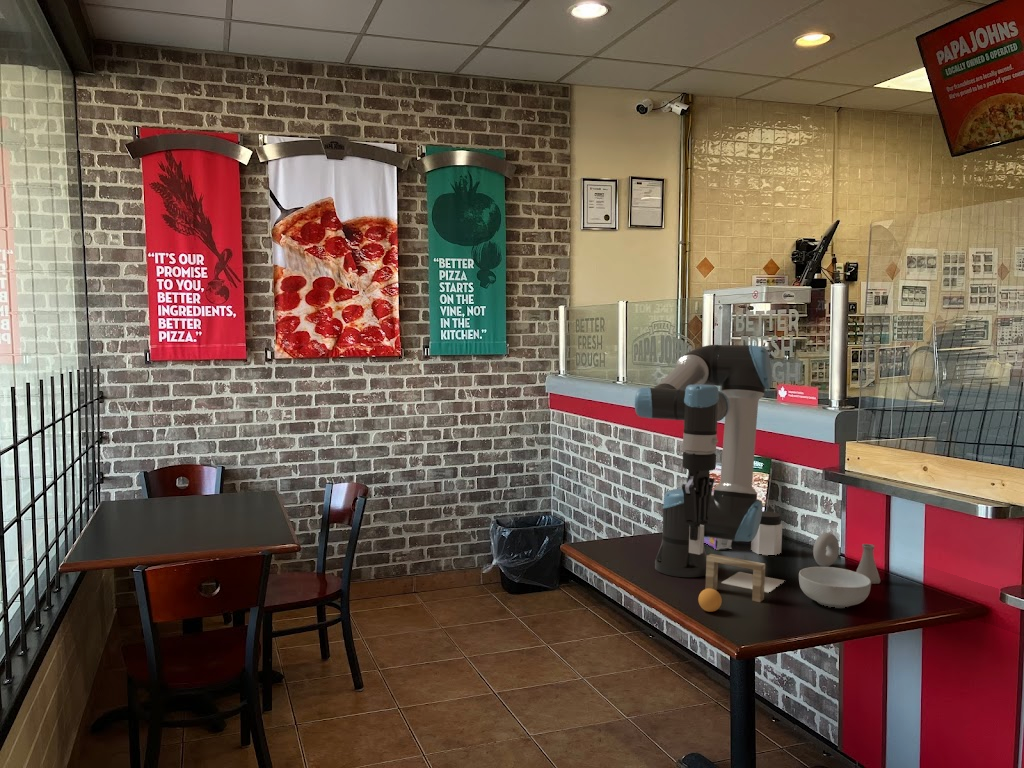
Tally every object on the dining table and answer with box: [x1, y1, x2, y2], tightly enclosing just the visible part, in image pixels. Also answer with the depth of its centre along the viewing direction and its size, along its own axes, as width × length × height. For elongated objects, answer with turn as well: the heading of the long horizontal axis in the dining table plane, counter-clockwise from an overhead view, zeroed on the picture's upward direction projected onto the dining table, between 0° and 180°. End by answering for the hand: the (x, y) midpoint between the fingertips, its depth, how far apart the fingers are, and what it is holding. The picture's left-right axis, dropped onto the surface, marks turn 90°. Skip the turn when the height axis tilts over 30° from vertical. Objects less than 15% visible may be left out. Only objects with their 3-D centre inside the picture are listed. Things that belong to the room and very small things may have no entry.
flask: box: [855, 543, 882, 585], centre depth 229 cm, size 7×7×10 cm
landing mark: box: [720, 571, 786, 594], centre depth 225 cm, size 13×13×1 cm
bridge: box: [704, 553, 766, 603], centre depth 214 cm, size 3×14×9 cm, turn 54°
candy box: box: [704, 489, 733, 551], centre depth 264 cm, size 14×6×16 cm, turn 12°
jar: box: [750, 510, 783, 556], centre depth 256 cm, size 9×8×12 cm
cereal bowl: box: [798, 566, 872, 609], centre depth 209 cm, size 17×17×7 cm
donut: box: [812, 532, 840, 567], centre depth 242 cm, size 10×4×10 cm, turn 125°
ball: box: [697, 588, 723, 613], centre depth 201 cm, size 6×6×6 cm
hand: (695, 552), depth 192 cm, fingers closed
